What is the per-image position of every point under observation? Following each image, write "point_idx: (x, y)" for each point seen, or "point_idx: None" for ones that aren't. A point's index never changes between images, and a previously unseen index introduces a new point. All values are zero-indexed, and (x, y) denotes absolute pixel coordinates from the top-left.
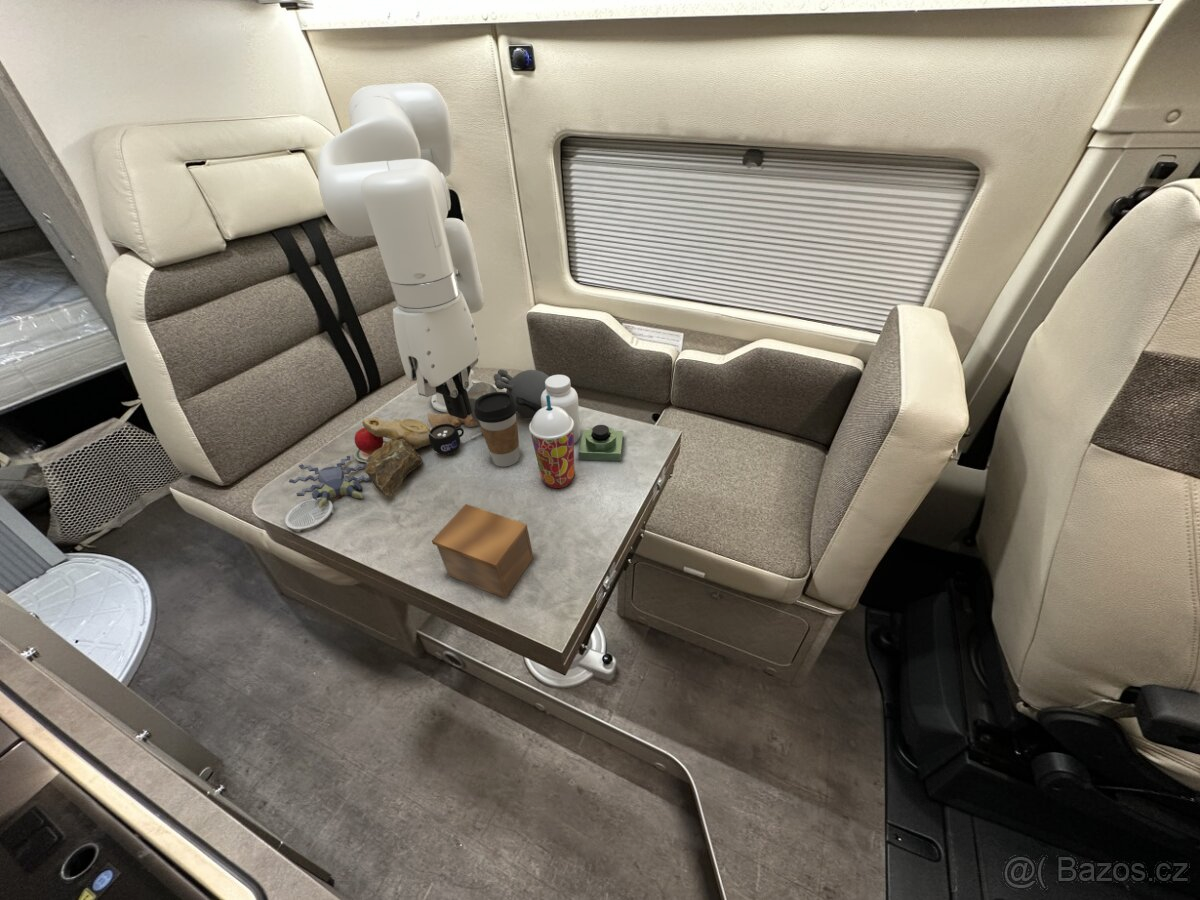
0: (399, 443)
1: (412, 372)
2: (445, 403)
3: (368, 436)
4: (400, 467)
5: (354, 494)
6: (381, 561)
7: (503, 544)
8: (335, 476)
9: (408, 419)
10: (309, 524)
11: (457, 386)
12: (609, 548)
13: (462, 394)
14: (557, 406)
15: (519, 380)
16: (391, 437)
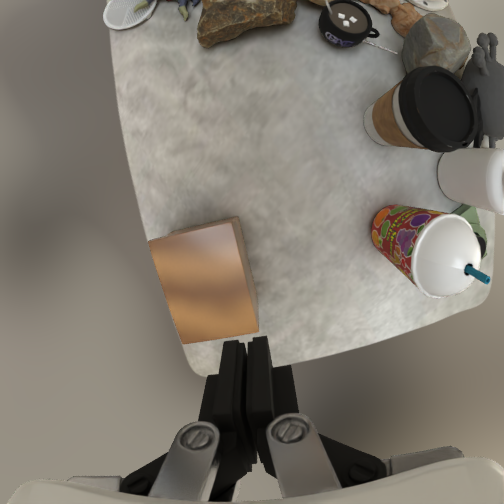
0: None
1: (40, 501)
2: (202, 403)
3: None
4: (244, 22)
5: (180, 10)
6: (132, 140)
7: (211, 331)
8: None
9: None
10: (116, 25)
11: (266, 469)
12: (319, 354)
13: (261, 460)
14: (490, 198)
15: (500, 82)
16: None
